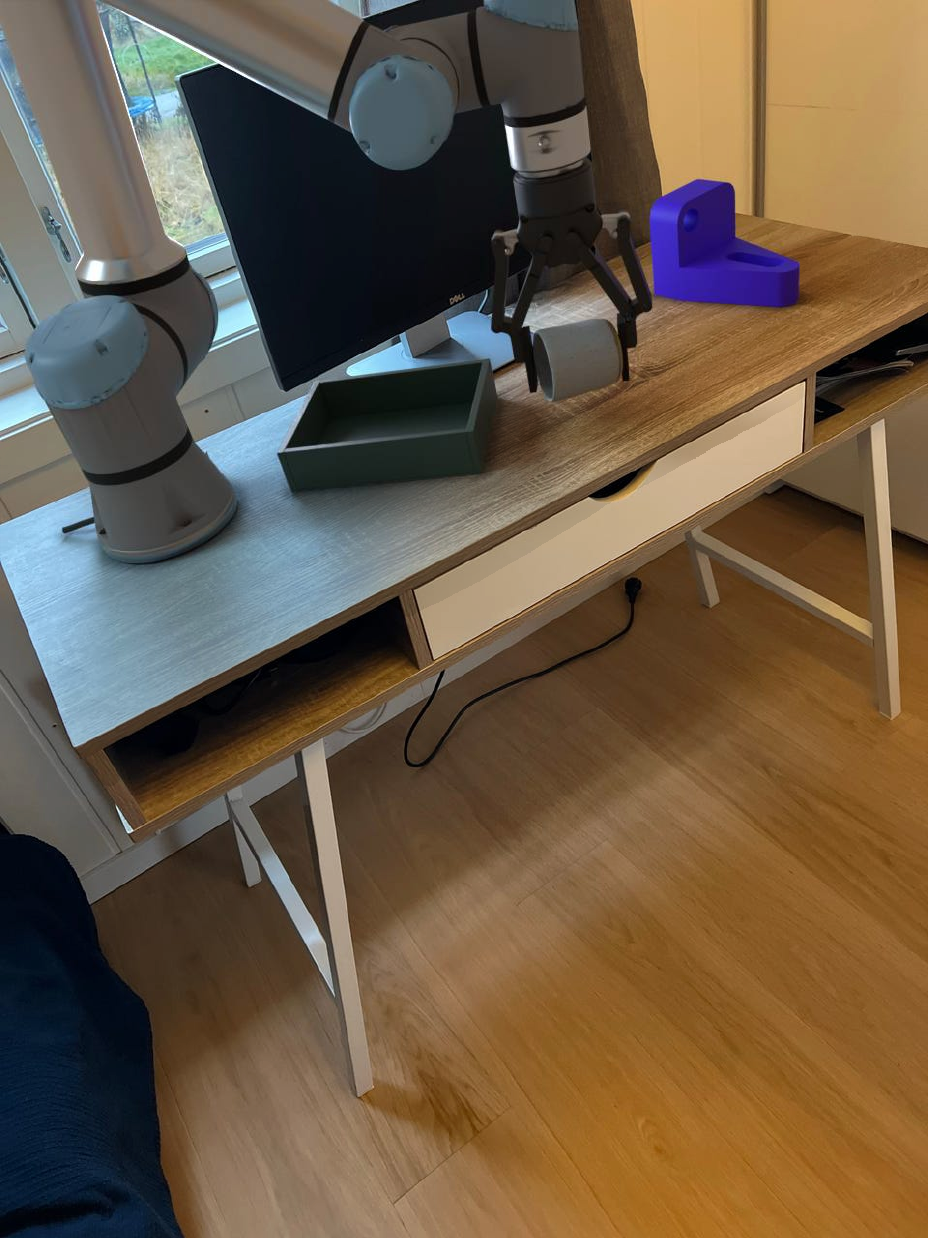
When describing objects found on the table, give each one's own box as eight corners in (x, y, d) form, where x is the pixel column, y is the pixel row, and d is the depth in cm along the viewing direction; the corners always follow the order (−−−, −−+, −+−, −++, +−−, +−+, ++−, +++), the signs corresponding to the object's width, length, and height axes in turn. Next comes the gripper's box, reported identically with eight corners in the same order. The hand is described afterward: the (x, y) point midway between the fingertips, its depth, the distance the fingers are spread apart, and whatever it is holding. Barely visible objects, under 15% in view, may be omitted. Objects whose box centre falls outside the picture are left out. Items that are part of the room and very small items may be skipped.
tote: (291, 492, 102) (276, 453, 99) (326, 417, 115) (314, 380, 112) (482, 473, 98) (473, 431, 94) (497, 397, 110) (490, 358, 107)
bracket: (654, 294, 124) (648, 203, 116) (708, 263, 128) (706, 173, 120) (766, 320, 111) (767, 220, 104) (822, 285, 116) (828, 187, 108)
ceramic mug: (630, 392, 98) (623, 323, 93) (557, 414, 98) (546, 346, 93) (595, 357, 107) (588, 291, 102) (528, 377, 106) (517, 312, 101)
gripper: (432, 196, 87) (477, 409, 101) (672, 154, 82) (684, 384, 96) (444, 172, 93) (484, 377, 107) (669, 132, 88) (680, 352, 102)
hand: (579, 381), depth 102 cm, fingers closed on ceramic mug, 9 cm apart
